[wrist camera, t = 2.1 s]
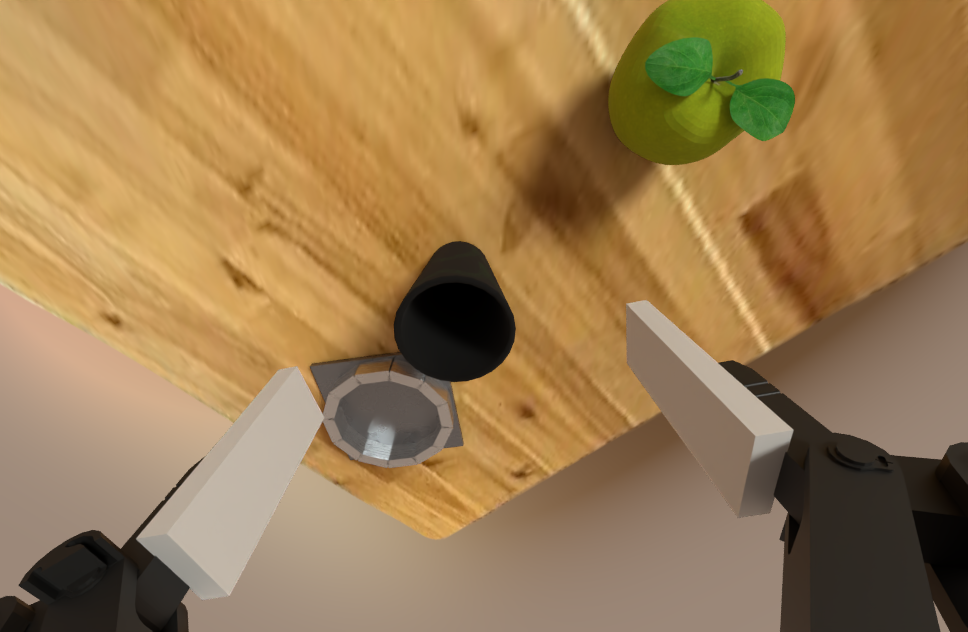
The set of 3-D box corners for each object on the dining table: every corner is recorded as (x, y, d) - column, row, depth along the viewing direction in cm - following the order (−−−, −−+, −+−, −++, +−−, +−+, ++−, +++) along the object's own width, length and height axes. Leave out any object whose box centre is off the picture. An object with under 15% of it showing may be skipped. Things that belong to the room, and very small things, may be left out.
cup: (408, 238, 31) (376, 289, 20) (492, 221, 31) (505, 265, 20) (430, 313, 34) (413, 391, 24) (505, 299, 34) (522, 372, 23)
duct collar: (351, 456, 43) (344, 475, 40) (311, 363, 36) (300, 379, 34) (463, 442, 43) (463, 460, 40) (442, 346, 36) (441, 361, 34)
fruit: (660, 180, 30) (744, 196, 21) (569, 124, 27) (618, 117, 19) (738, 63, 26) (879, 22, 17) (641, -11, 24) (744, -102, 15)
